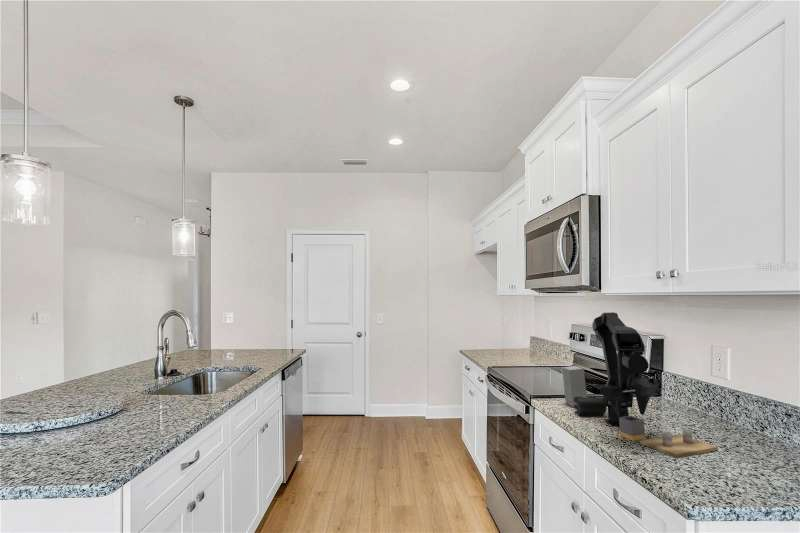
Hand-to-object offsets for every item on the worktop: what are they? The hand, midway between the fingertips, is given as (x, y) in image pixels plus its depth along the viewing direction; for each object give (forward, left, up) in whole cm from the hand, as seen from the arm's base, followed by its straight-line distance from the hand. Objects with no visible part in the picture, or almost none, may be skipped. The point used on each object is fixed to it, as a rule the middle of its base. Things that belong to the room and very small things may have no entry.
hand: (630, 416), depth 133 cm
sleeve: (0, 0, -7) cm, 7 cm away
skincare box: (-38, +9, -7) cm, 40 cm away
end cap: (-25, +5, -7) cm, 26 cm away
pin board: (+11, +6, -7) cm, 14 cm away
